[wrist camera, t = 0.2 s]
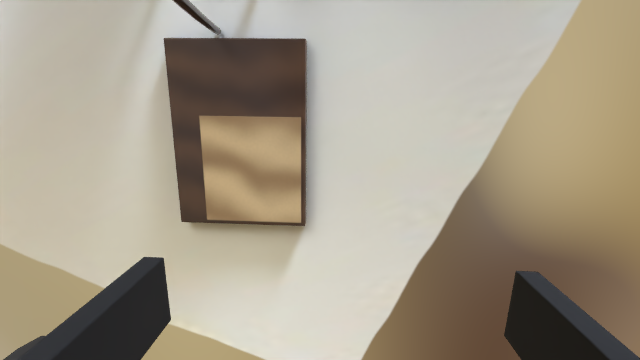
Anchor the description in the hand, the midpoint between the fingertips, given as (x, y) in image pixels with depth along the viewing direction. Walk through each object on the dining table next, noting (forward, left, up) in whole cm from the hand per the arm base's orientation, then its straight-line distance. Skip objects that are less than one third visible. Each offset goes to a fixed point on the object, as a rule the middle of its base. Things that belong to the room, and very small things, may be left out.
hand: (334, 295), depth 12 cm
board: (-3, -12, -28) cm, 30 cm away
